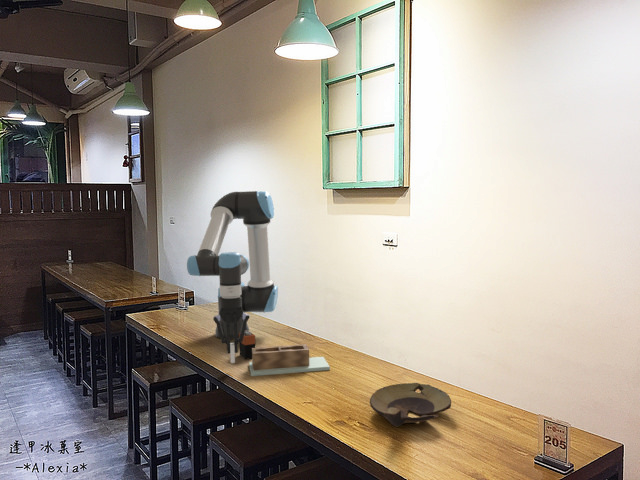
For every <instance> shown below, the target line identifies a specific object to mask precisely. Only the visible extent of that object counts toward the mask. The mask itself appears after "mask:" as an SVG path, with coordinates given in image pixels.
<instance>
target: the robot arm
mask: <svg viewBox="0 0 640 480" xmlns="http://www.w3.org/2000/svg"><path fill="white" fill-rule="evenodd" d="M274 211H275V208H274V203H273V199H272V196H271V194H270V193H269V192H268V191H262V190H261V191H259V190H252V191H250V190H249V191H232V192H229V193H226V194H224V195H223V196H222V197H221V198H220V199H218V200H217V202H215V203H214V205H213V206H212V209H211V211H210V221H209V224H208V226H207V228H206V231H205V234H204V236H203V239H202V241H201V244H200V246H199V249H198V252H197V254H196V255H195V254H194V255H190V256H188V258H187V261H186V270H187V274H189V275H190V276H197V277H198V276H199V277H209V276H210V277H216V276H217V277H218V278H219V288H218V289H217V291H218V292H217V304H218V305H217V307H218V314H217V315H214V316H213V318H212V319H213V322H215V324H216V327H215V331H214V332H215V333H214V335H215V337H216V338H218V339H220V342H221V344H225V346H226V353H227V354H230V357H229V358H230V359H229V360H230V364H235V363H236V355H235V354H236V353H238V352H239V345H238V344H239V343H240V342H242V341H243V337H244V333H245V330H247V331H249V332H250V328H249V324H248V321H249V319H250V314H249V313H265V314H266V313H272V312H274V311H275V309H276V308H277V303H278V295H279V287H278V285H275V281H274V280H272V279H271V272H270V270H271V269H270V252H269V251H270V250H269V236H268V226H269V225H270V224H271V219H273V218H274V216H275V212H274ZM237 219H238V220H242V221H243V222H242V223H243V225H244V226H246V227H247V229H246V230H247V243H248V247H247V248H248V257H247V256H245V255H244V254H241V253H239V252H235V251H234V252H231V251H228V252H222V253H220V250H221V248H222V245H223V243H224V239H225V236H226V233H227V230H228V227H229V226H230V224H232V222H233V220H237ZM219 253H220V254H219ZM248 270H249V272H250V273H249V274H250V279H249V281H248V282H247V285H245V283H244V282H242V276H243V275H244V274H246V272H247V271H248ZM239 333H240V337H239ZM231 340H233V342H231Z"/></svg>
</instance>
